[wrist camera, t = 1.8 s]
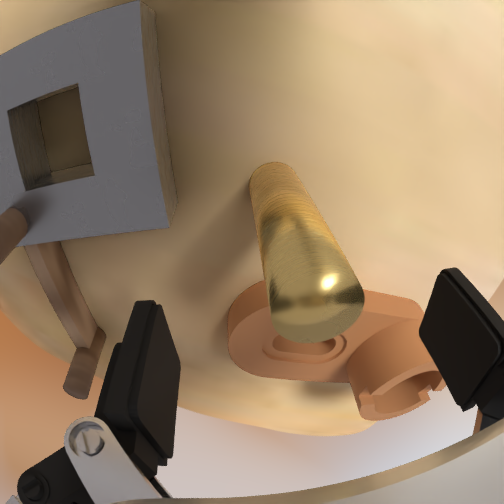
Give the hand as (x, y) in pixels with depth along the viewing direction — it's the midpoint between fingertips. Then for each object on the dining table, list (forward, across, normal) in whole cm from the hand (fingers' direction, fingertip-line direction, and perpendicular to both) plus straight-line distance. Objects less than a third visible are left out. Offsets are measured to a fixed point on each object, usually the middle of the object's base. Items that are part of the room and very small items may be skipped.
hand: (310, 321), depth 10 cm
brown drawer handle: (+10, +15, +4) cm, 18 cm away
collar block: (+9, +11, -6) cm, 16 cm away
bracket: (+10, -5, +11) cm, 16 cm away
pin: (+9, 0, -1) cm, 9 cm away
